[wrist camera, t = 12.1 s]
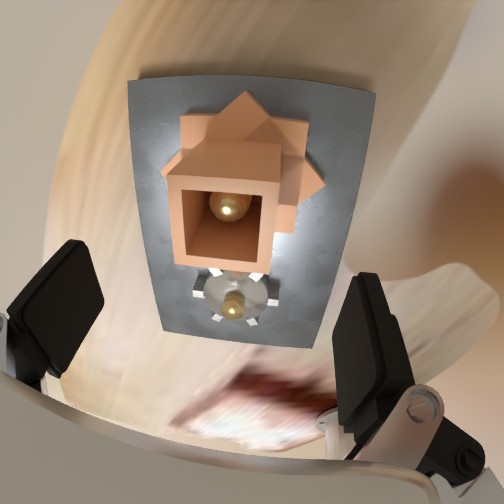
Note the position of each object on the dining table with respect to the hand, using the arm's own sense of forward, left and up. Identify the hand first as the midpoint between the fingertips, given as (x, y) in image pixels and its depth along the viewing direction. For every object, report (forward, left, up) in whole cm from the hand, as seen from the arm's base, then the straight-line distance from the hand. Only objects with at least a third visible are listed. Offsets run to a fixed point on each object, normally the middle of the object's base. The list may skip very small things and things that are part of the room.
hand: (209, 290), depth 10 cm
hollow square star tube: (0, 0, -10) cm, 10 cm away
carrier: (0, +5, -12) cm, 13 cm away
